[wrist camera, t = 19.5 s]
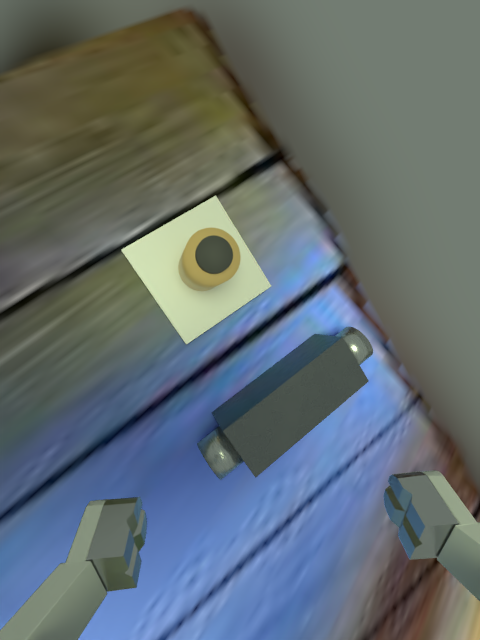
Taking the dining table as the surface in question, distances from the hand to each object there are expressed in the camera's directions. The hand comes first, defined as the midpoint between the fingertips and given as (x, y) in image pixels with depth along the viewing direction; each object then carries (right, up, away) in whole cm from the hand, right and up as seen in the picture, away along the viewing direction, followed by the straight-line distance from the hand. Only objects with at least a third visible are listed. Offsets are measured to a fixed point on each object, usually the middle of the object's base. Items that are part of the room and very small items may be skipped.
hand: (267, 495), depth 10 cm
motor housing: (+4, -3, +28) cm, 28 cm away
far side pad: (-5, +11, +25) cm, 28 cm away
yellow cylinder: (-5, +11, +24) cm, 27 cm away
